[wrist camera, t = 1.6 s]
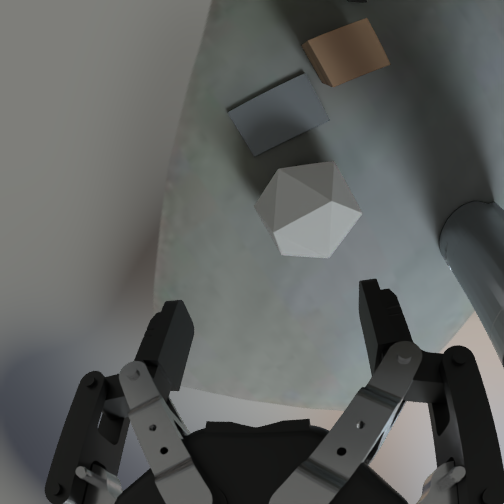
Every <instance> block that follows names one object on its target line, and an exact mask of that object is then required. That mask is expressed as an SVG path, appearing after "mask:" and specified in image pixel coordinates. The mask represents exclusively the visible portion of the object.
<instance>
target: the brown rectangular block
mask: <svg viewBox="0 0 504 504" xmlns="http://www.w3.org/2000/svg"><path fill="white" fill-rule="evenodd" d="M301 46H302V48H303V50H304V51H305V53H306V55H307V56H308V58H309V60H310V62H311V63H312V65H313V67H314V69H315V71H316V72H317V74H318V76H319V78H320V80H321V82H322V83H324V84H326V85H329V86H331V87H335V86H338V85H340V84H342V83H345V82H347V81H350V80H352V79H354V78H357V77H359V76H362V75H364V74H367V73H369V72H372V71H375V70H377V69H380V68H383V67H385V66H388V65H391V64H390V62H389V60H388V58H387V55H386V53H385V51H384V49H383V47H382V45H381V43H380V41H379V39H378V37H377V35H376V34H375V32H374V30H373V28H372V26H371V24H370V22H369V21H368V19H367V18H365V19H362V20H360V21H357V22H354V23H351V24H348V25H346V26H343V27H340V28H338V29H335V30H332V31H330V32H327V33H325V34H322V35H320V36H318V37H315V38H313V39H311V40H308V41H307V42H305V43H304V44H303V45H301Z"/></svg>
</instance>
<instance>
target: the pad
mask: <svg viewBox="0 0 504 504" xmlns="http://www.w3.org/2000/svg"><path fill="white" fill-rule="evenodd" d="M228 114H229V116H230V118H231V119H232V121H233V123H234V124H235V126H236V127H237V129H238V131H239V132H240V134H241V136H242V137H243V139H244V140H245V142H246V144H247V145H248V147H249V149H250V150H251V152H252V154H253V155H254V157H255V156H257V155H259V154H261V153H263V152H265V151H267V150H269V149H271V148H273V147H275V146H277V145H279V144H281V143H283V142H285V141H287V140H289V139H291V138H293V137H295V136H297V135H299V134H301V133H304V132H306V131H308V130H310V129H312V128H314V127H316V126H319V125H321V124H323V123H325V122H327V121H330V119H329V117H328V115H327V113H326V111H325V109H324V107H323V106H322V104H321V102H320V100H319V98H318V96H317V94H316V92H315V90H314V88H313V87H312V85H311V83H310V81H309V79H308V77H307V76H306V74H305V73H304V74H301V75H299V76H297V77H295V78H293V79H291V80H289V81H287V82H284V83H282V84H280V85H278V86H276V87H274V88H272V89H270V90H268V91H266V92H264V93H262V94H260V95H259V96H257V97H255V98H253V99H251V100H249V101H247V102H245V103H243V104H242V105H240V106H238V107H236V108H234V109H233V110H231V111H229V112H228Z"/></svg>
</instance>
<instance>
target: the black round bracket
mask: <svg viewBox="0 0 504 504" xmlns="http://www.w3.org/2000/svg"><path fill="white" fill-rule="evenodd" d="M347 1H350V2H367V0H347Z"/></svg>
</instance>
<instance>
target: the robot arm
mask: <svg viewBox="0 0 504 504" xmlns="http://www.w3.org/2000/svg"><path fill="white" fill-rule="evenodd" d="M439 244H440V251H441V254H442V256H443V257H444V259H445V261H446V263H447V265H448V266H449V268H450V269H451V270H452V272H453V273H454V275H455V277H456V278H457V280H458V282H459V283H460V285H461V287H462V288H463V290H464V292H465V293H466V295H467V297H468V299H469V300H470V302H471V304H472V306H473V308H474V309H475V311H476V313H477V315H478V317H479V318H480V320H481V322H482V324H483V326H484V328H485V330H486V332H487V334H488V336H489V338H490V340H491V341H492V344H493V346H494V348H495V350H496V352H497V354H498V356H499V359H500V361H501V363H502V365H503V367H504V210H503V209H502V208H501V207H500V206H499V205H497V204H496V203H495V202H492V203H490V204H486V203H483V202H477V201H475V202H470V203H467V204H465V205H463V206H461V207H460V208H458V209H457V210H456V211H455V212H454V213H453V214H452V215H451V216H450V217H449V219H448V220H447V221H446V223H445V225H444V227H443V229H442V232H441V235H440V242H439ZM359 315H360V321H361V326H362V330H363V335H364V339H365V344H366V348H367V353H368V358H369V363H370V368H371V373H372V378H371V379H370V381H369V382H368V384H367V385H366V387H362V388H361V389H360V390H359V391H358V392H357V394H356V395H355V397H354V398H353V400H352V401H351V403H350V404H349V405H348V407H347V408H346V410H345V411H344V413H343V414H342V415H341V417H340V418H339V419H338V421H337V422H336V423H335V425H334V426H333V428H332V429H331V430H330V431H328V430H326V429H324V428H321V427H317V426H311V425H310V419H303V420H288V421H280V422H277V423H273V424H269V425H265V426H262V427H256V428H255V427H250V426H245V425H241V424H237V423H233V422H209V421H208V422H207V423H206V428H204V429H201V430H198V431H195V432H193V433H190V432H189V430H188V429H187V427H186V426H185V424H184V422H183V421H182V419H181V417H180V416H179V414H178V412H177V410H176V408H175V406H174V404H173V403H172V401H171V399H170V398H169V393H170V391H179V389H180V385H181V381H182V377H183V374H184V370H185V366H186V362H187V358H188V355H189V351H190V347H191V343H192V340H193V336H194V325H193V322H192V320H191V318H190V315H189V313H188V311H187V309H186V307H185V304H184V302H183V301H182V300H175V301H166V302H165V303H164V306H163V308H162V311H161V312H158V313H156V315H155V316H154V317H153V318H152V319H151V320H150V323H149V325H148V327H147V331H146V332H145V335H144V338H143V340H142V342H141V345H140V347H139V350H138V352H137V355H136V358H135V360H134V361H133V362H130V363H128V364H127V365H125V366H124V367H123V368H122V369H121V371H120V374H117V375H113V376H109V377H104V376H103V374H101V372H98V371H92V372H89V373H88V374H86V375H85V376H84V377H83V378H82V380H81V381H80V384H79V386H78V389H77V392H76V394H75V397H74V400H73V402H72V405H71V407H70V410H69V413H68V416H67V418H66V421H65V424H64V427H63V430H62V433H61V436H60V439H59V442H58V445H57V448H56V451H55V455H54V458H53V461H52V464H51V467H50V471H49V474H48V478H47V482H46V485H45V494H46V497H47V499H48V500H49V501H50V502H51V503H52V504H408V502H407V501H406V500H405V499H404V498H403V497H402V496H401V495H400V494H399V493H397V491H395V490H394V489H393V488H392V487H391V486H390V485H389V484H388V483H386V482H385V481H384V480H383V479H382V478H381V477H380V476H379V475H378V474H377V473H376V472H375V471H374V470H372V469H371V468H370V467H369V464H370V463H371V461H372V460H373V458H374V457H375V455H376V454H377V452H378V451H379V449H380V447H381V446H382V444H383V442H384V441H385V439H386V437H387V435H388V433H389V431H390V430H391V428H392V426H393V425H394V423H395V421H396V419H397V418H398V416H399V414H400V412H401V411H402V409H403V407H404V405H405V403H406V401H413V402H423V403H428V407H429V413H430V419H431V425H432V431H433V438H434V445H435V453H436V461H437V469H436V470H435V471H434V472H433V473H432V474H431V475H430V476H429V477H428V478H427V479H426V480H425V482H424V485H423V491H422V496H421V498H420V500H419V501H418V502H417V503H416V504H503V503H504V469H503V464H502V458H501V452H500V447H499V442H498V438H497V433H496V429H495V425H494V421H493V416H492V413H491V409H490V405H489V402H488V398H487V395H486V391H485V388H484V385H483V382H482V378H481V375H480V372H479V369H478V366H477V363H476V360H475V357H474V355H473V353H472V352H471V351H470V350H469V349H468V348H466V347H463V346H452V347H450V348H448V349H447V350H446V351H445V352H444V354H440V353H429V352H425V351H423V350H421V349H420V348H419V347H418V346H417V345H416V344H414V342H413V340H412V338H411V335H410V332H409V329H408V326H407V323H406V321H405V318H404V315H403V313H402V309H401V307H400V304H399V301H398V299H397V296H396V295H395V294H394V293H393V292H392V291H391V290H390V289H383V290H380V287H379V284H378V282H377V279H369V280H362V281H360V282H359ZM101 412H102V413H103V414H102V418H101V421H100V424H99V428H97V426H98V422H99V419H100V416H101ZM130 422H131V424H132V427H133V429H134V431H135V434H136V436H137V439H138V440H139V443H140V446H141V448H142V450H143V452H144V455H145V457H146V459H147V461H148V463H149V465H150V469H149V470H148V471H147V472H145V473H144V474H143V475H142V476H141V477H140V478H139V479H137V480H136V481H135V482H134V483H133V484H131V485H130V486H129V487H128V488H127V489H125V490H124V491H123V490H122V489H121V483H120V481H119V479H118V478H117V474H118V469H119V465H120V461H121V456H122V452H123V448H124V444H125V439H126V435H127V431H128V427H129V423H130Z"/></svg>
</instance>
